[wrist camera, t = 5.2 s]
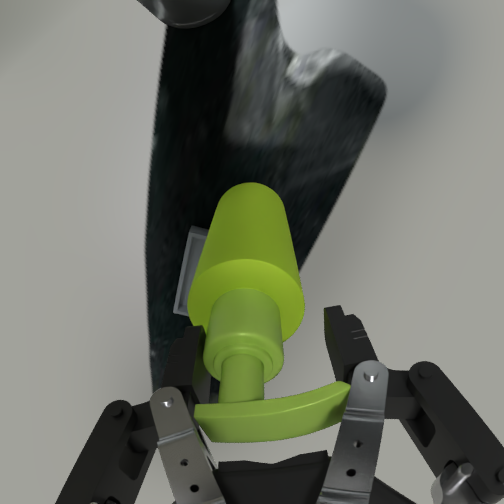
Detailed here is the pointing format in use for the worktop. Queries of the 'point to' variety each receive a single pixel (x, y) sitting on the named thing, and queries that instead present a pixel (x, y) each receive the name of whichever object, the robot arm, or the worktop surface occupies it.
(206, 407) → the soap dispenser
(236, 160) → the worktop surface
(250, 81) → the worktop surface
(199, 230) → the tray
